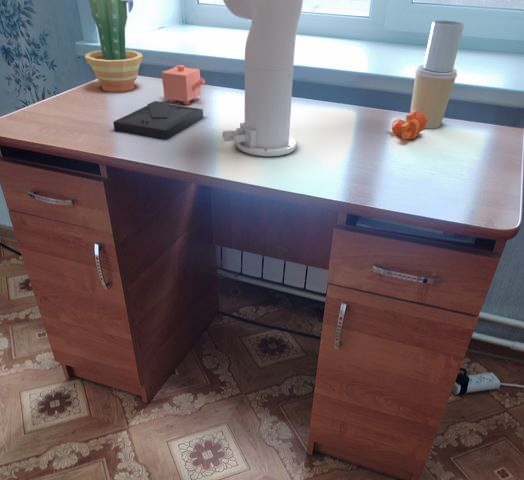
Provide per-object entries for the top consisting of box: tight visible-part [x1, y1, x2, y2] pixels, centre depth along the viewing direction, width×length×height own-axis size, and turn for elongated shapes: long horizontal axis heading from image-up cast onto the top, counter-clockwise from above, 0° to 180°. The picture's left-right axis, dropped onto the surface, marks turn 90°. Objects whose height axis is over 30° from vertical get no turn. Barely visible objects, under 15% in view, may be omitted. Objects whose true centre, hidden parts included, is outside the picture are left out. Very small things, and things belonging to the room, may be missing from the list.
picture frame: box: [112, 100, 204, 140], centre depth 117 cm, size 13×2×18 cm
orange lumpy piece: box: [390, 110, 427, 140], centre depth 115 cm, size 5×8×12 cm
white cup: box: [422, 19, 465, 72], centre depth 113 cm, size 7×7×9 cm
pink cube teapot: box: [161, 64, 206, 105], centre depth 130 cm, size 8×12×8 cm, turn 69°
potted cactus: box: [84, 0, 143, 93], centre depth 133 cm, size 16×15×25 cm
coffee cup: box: [409, 64, 458, 129], centre depth 120 cm, size 9×9×12 cm
